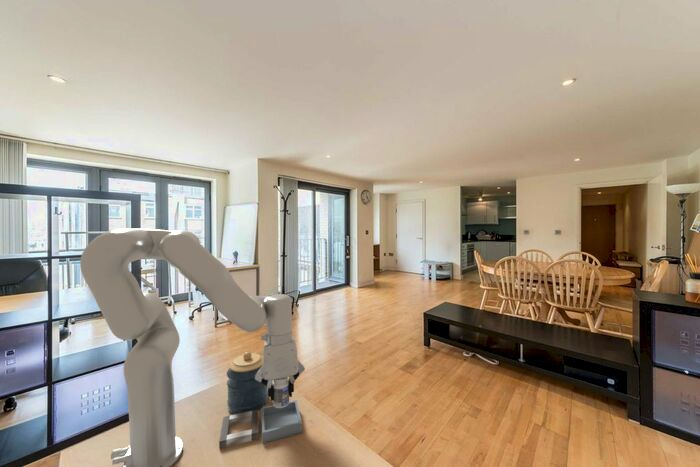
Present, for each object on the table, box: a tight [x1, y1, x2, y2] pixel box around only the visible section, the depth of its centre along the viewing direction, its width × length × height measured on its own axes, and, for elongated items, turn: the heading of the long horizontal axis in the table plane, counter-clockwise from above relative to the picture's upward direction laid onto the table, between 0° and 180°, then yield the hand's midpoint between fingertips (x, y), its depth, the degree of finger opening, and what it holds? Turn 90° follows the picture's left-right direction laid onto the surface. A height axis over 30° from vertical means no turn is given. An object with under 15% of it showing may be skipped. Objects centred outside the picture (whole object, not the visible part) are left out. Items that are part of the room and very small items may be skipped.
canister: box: [226, 351, 269, 415], centre depth 92 cm, size 13×13×18 cm
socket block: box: [218, 410, 259, 449], centre depth 80 cm, size 10×10×2 cm
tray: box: [260, 399, 303, 444], centre depth 83 cm, size 11×11×3 cm
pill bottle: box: [272, 377, 290, 408], centre depth 82 cm, size 5×5×8 cm
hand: (281, 395), depth 82 cm, fingers closed on pill bottle, 4 cm apart
